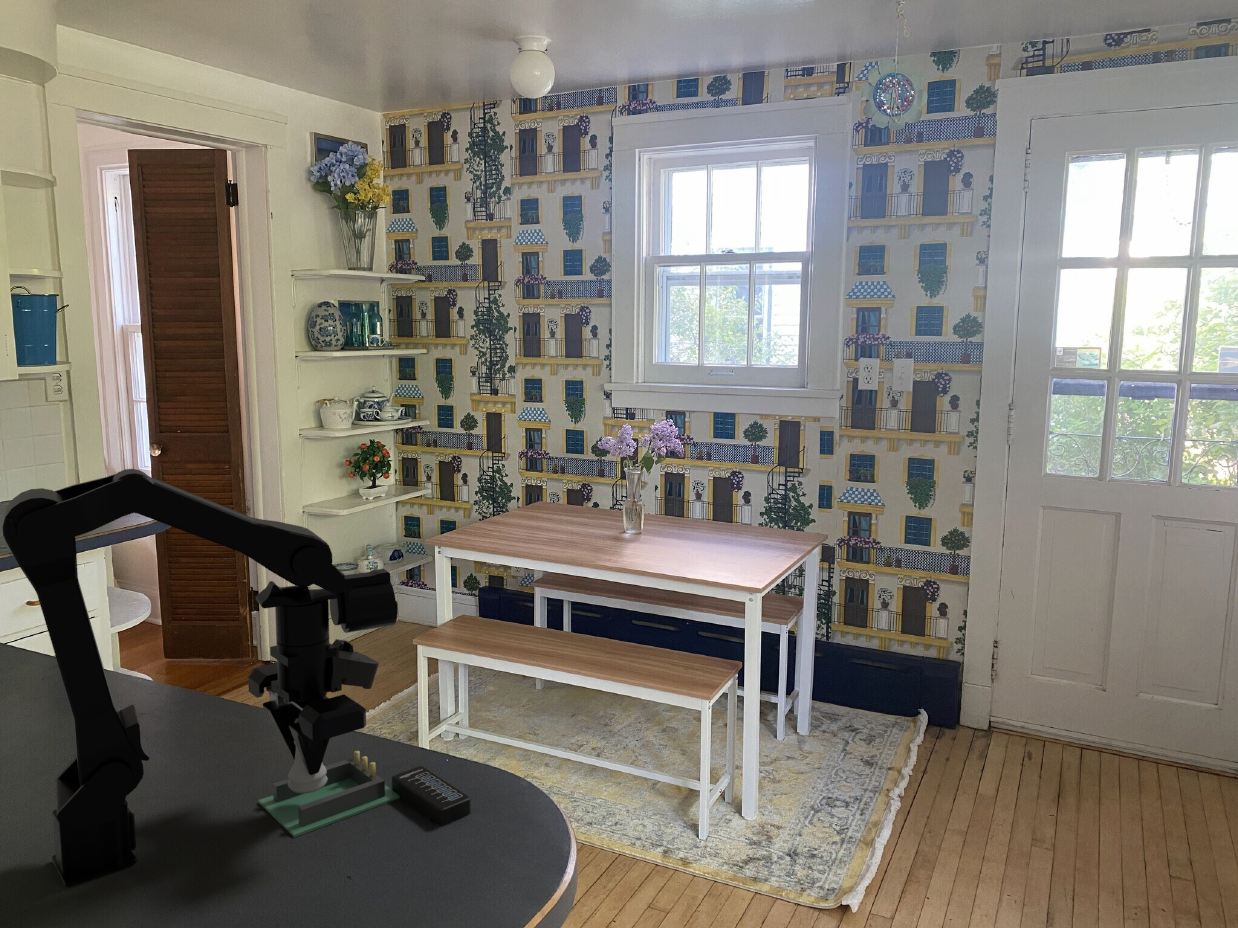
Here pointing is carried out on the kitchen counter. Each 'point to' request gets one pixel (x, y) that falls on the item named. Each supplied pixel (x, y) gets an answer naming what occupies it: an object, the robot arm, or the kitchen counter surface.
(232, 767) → the kitchen counter surface
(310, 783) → the rook chess piece
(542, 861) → the kitchen counter surface
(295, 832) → the header socket
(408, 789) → the multiport hub
